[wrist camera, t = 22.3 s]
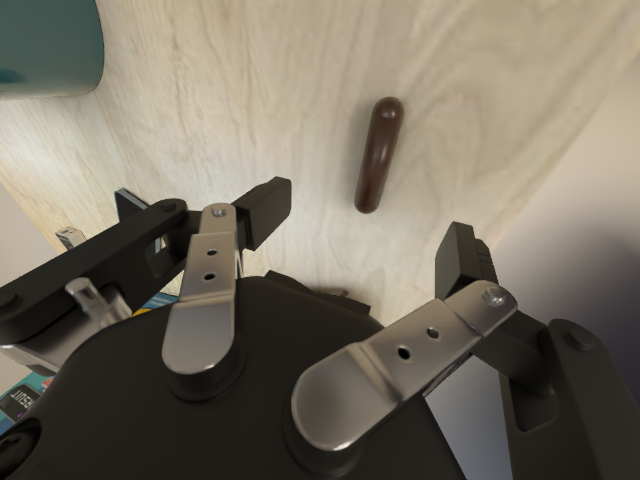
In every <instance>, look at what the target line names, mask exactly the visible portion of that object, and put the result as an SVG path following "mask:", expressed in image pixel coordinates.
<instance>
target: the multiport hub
mask: <svg viewBox="0 0 640 480" xmlns="http://www.w3.org/2000/svg"><path fill="white" fill-rule="evenodd" d="M55 234H56V236H57V237H58V238H59V239H60V241H61V242H62V243H63V245H64V246H65V247H66V248H67V250H70V249H72V248H74V247H76V246H77V245H79V244H81V243H83V242H85V241H87V240H86V239H85V237H84V236H83V234H82V233H81V232H80V231H79V230H76V229H72V228H69V227H67V228H64V229H62V230H60V231H57V232H55Z"/></svg>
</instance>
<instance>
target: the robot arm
mask: <svg viewBox="0 0 640 480" xmlns="http://www.w3.org/2000/svg"><path fill="white" fill-rule="evenodd" d="M291 187H292V185H291V181H290V180H289V179H285V178H281V177H277V176H276V177H274V178H273V179H271V180H270V181H269V182H267V183H264V184H261V185H258V186H256V187H254V188H253V189H251V191H248V192H247V193H246V194H244V195H243V196H241V197H240V198H238V199H237V200H235V201H234V202H232V203H231V204H228V203H215V204H211V205H209V206H207V207H205V208H204V209H203V210H202V211H192V210H188V207H187V204H186V202H185V201H184V200H182V199H176V198H172V199H165V200H161V201H158V202H156V203H154V204H152V205H151V206H149V207H147V208H145V209H143V210H141V211H140V212H138V213H136V214H134V215H132V216H130V217H129V218H127V219H125V220H123V221H121V222H120V223H118V224H116V225H114V226H112V227H110V228H109V229H107V230H105V231H103V232H101V233H99V234H98V235H96V236H94V237H92V238H90V239H88V240H87V241H85V242H83V243H81V244H79V245H77V246H76V247H74V248H72V249H70V250H68V251H66V252H65V253H63V254H61V255H59V256H58V257H55V258H54V259H52V260H50V261H48V262H46V263H45V264H43V265H41V266H39V267H37V268H36V269H33V270H32V271H30V272H28V273H26V274H24V275H23V276H21V277H19V278H17V279H15V280H13V281H12V282H10V283H8V284H6V285H4V286H2V287H1V288H0V351H1V352H2V353H4V354H5V355H7V356H8V357H9V358H11V359H13V360H14V361H15V362H17V363H19V364H21V365H25V366H27V367H28V368H29V369H31V370H32V371H34V372H35V373H37V374H38V375H40V376H43V377H52V376H55V377H54V379H53V380H52V382H51V383H50V384H49V386H48V387H47V388H46V390H45V391H44V392H43V393H42V395H41V396H40V397H39V398H38V399H37V401H36V402H35V403H34V404H33V405H32V406H31V407H30V408H29V410H28V411H27V412H26V413H25V414H24V415H23V416H22V417H21V418H20V419H19V420H18V421H17V422H16V423H15V424H14V425H13V426H11V427H10V428H9V429H8V430H7V431H5V432H4V433H3V434H2V435H0V480H467V479H466V477H465V475H464V473H463V472H462V470H461V468H460V466H459V464H458V462H457V460H456V458H455V456H454V454H453V452H452V450H451V449H450V447H449V445H448V443H447V441H446V439H445V437H444V435H443V433H442V431H441V429H440V427H439V425H438V423H437V421H436V420H435V418H434V416H433V414H432V412H431V410H430V408H429V406H428V404H427V402H426V400H425V397H426V396H428V395H429V394H430V393H431V392H432V391H433V390H434V389H435V388H436V387H437V386H438V385H439V384H440V383H441V382H442V381H444V380H445V379H446V378H447V377H448V376H449V375H450V374H452V373H453V372H454V371H455V370H456V369H458V368H459V367H460V366H461V365H462V364H463V363H464V362H466V361H467V360H468V359H469V358H470V357H471V356H473V355H475V356H476V357H478V358H479V359H481V360H482V361H484V362H485V363H487V364H489V365H490V366H492V367H493V368H495V369H496V370H498V371H499V380H500V387H501V394H502V402H503V409H504V417H505V424H506V432H507V439H508V447H509V454H510V461H511V469H512V476H513V480H640V410H639V408H638V406H637V404H636V402H635V400H634V399H633V397H632V395H631V393H630V391H629V389H628V387H627V385H626V383H625V382H624V379H623V378H622V376H621V374H620V372H619V370H618V368H617V366H616V364H615V362H614V361H613V359H612V357H611V355H610V353H609V351H608V349H607V348H606V346H605V345H604V344H603V343H602V342H601V341H600V340H599V339H598V338H597V337H596V336H595V335H594V334H592V333H591V332H590V331H588V330H587V329H585V328H584V327H582V326H580V325H578V324H576V323H574V322H571V321H568V320H565V319H553V320H551V321H550V322H549V323H548V324H546V325H545V324H543V323H541V322H539V321H537V320H535V319H534V318H532V317H530V316H528V315H526V314H524V313H522V312H521V311H519V310H518V305H517V302H516V300H515V298H514V297H513V296H512V295H511V293H509V292H508V291H507V290H505V289H504V288H503V287H501V286H499V283H498V280H497V276H496V273H495V269H494V265H492V264H493V262H492V258H491V255H490V251H489V248H488V247H487V246H486V245H485V243H484V242H483V241H482V240H480V239H476V238H475V236H474V231H473V227H472V226H471V225H467V224H463V223H459V222H455V221H453V222H452V223H451V225H450V227H449V229H448V231H447V233H446V235H445V237H444V238H443V240H442V242H441V244H440V246H439V248H438V251H437V254H436V258H435V299H433V300H431V301H430V302H428V303H426V304H425V305H423V306H421V307H420V308H418V309H416V310H415V311H413V312H411V313H410V314H408V315H406V316H404V317H403V318H401V319H399V320H398V321H396V322H394V323H393V324H391V325H389V326H388V327H386V328H385V327H384V326H383V325H382V324H381V323H380V322H378V321H377V320H376V319H375V318H373V317H372V316H370V315H369V311H370V308H371V306H369V305H366V304H363V303H361V302H358V301H355V300H352V299H349V298H347V297H344V296H337V295H330V294H323V293H316V292H314V291H312V290H310V289H309V288H307V287H306V286H304V285H303V284H301V283H299V282H298V281H296V280H295V279H293V278H291V277H288V276H285V275H283V274H280V273H277V272H274V271H272V270H269V271H268V273H267V274H266V275H265V276H264V277H263V276H250V277H244V265H243V253H242V251H243V250H244V249H245V248H246V249H249V250H252V251H255V250H256V249H257V248H258V247H259V246H260V245H261V244H262V243H263V242H264V241H265V240H266V239H267V238H268V237H269V236H270V235H271V234H272V233H273V232H274V230H275V229H276V228H277V227H278V226H279V225H280V224H281V223H282V222H283V221H284V220H285V219H286V218H287V217H288V216H289V214H290V211H291ZM161 236H162V237H163V240H164V242H165V245H166V246H165V247H164V248H163V249H161V250H160V251H159V252H157V253H156V254H155V255H153V256H152V257H151V258H149V259H148V260H147V258H146V256H145V251H146V248H147V247H148V246H149V245H150V244H151V243H152V242H154V241H155V240H157V239H158V238H160V237H161ZM182 270H184V274H183V279H182V283H181V288H180V293H179V298H178V300H177V301H174V302H171V303H169V304H166V305H163V306H160V307H157V308H155V309H152V310H149V311H146V312H143V313H141V314H138V315H135V316H132V315H133V314H135V313H136V312H137V311H138V310H139V309H140V308H141V307H142V306H143V305H145V304H146V303H147V302H148V301H149V300H150V299H151V298H152V297H153V296H155V295H156V294H157V293H158V292H159V291H160V290H161V289H162V288H164V287H165V286H166V285H167V284H168V283H169V282H170V281H171V280H172V279H174V278H175V277H176V276H177V275H178V274H179V273H180V272H181V271H182ZM131 316H132V317H131Z"/></svg>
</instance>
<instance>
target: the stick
mask: <svg viewBox="0 0 640 480" xmlns="http://www.w3.org/2000/svg"><path fill="white" fill-rule="evenodd" d="M403 115H404V109H403V106H402V104H401V102H400V101H399V100H398V99H396V98H394V97H385V98H383V99H381V100H380V101H379V102H377V104H376V105H375V107H374V109H373V111H372V116H371V121H370V125H369V130H368V135H367V140H366V145H365V150H364V155H363V160H362V165H361V170H360V175H359V180H358V184H357V189H356V194H355V199H354V204H355V207H356V209H357V210H358V211H359V212H361V213H363V214H369V213H372V212H374V211H375V210H376V209H377V207H378V205H379V202H380V199H381V195H382V191H383V188H384V184H385V181H386V177H387V173H388V170H389V166H390V163H391V159H392V155H393V152H394V148H395V145H396V141H397V137H398V134H399V130H400V127H401V123H402V119H403Z"/></svg>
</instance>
